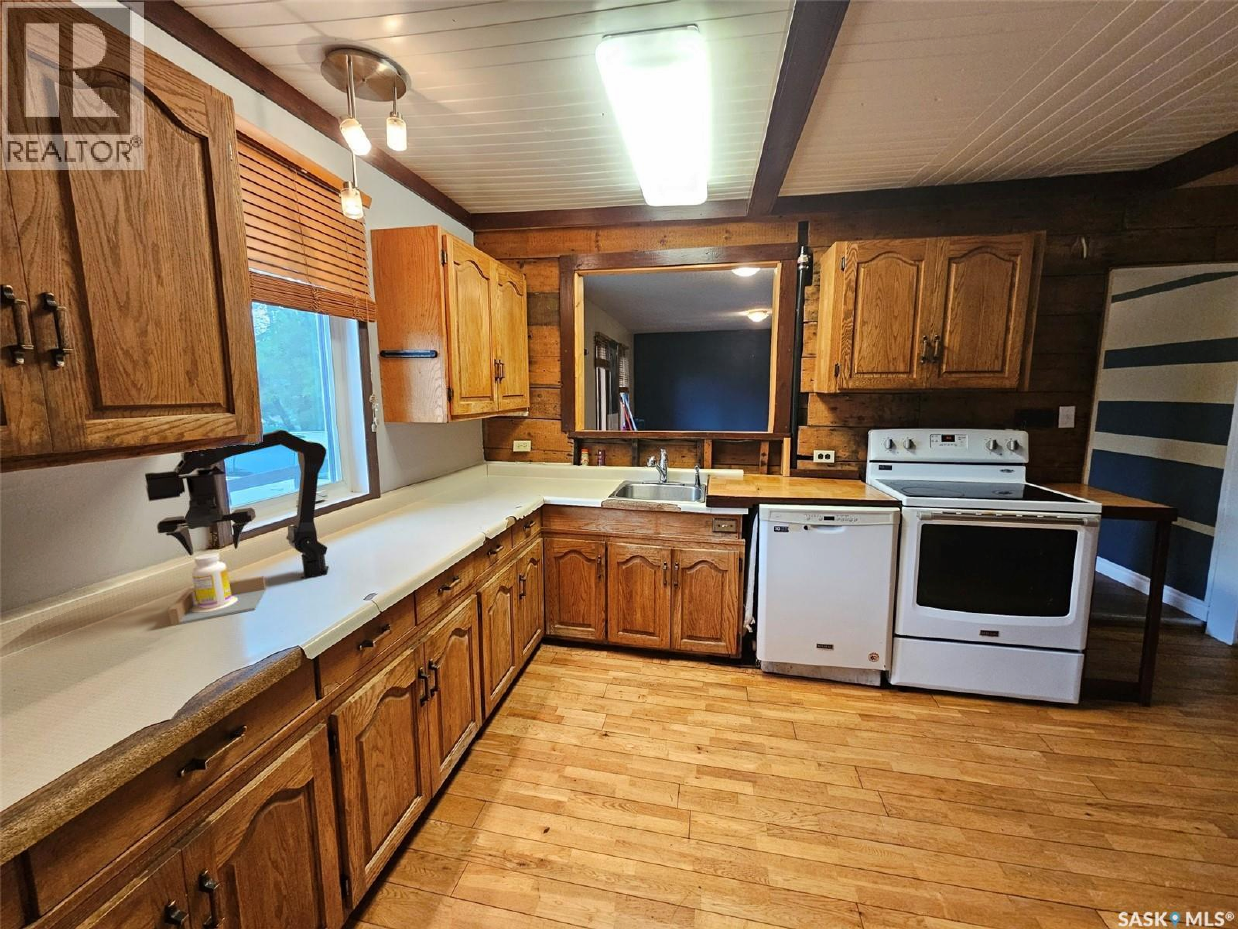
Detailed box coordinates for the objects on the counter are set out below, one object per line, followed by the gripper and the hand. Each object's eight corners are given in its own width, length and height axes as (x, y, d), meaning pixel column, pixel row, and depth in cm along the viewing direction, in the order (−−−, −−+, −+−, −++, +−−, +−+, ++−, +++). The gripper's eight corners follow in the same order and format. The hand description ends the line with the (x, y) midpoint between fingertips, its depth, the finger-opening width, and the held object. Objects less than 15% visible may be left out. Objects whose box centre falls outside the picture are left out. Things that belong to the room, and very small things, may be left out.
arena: (191, 602, 125) (188, 588, 124) (266, 589, 132) (263, 575, 131) (171, 625, 112) (168, 609, 112) (255, 609, 119) (252, 594, 119)
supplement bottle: (225, 596, 126) (217, 549, 124) (237, 601, 123) (228, 553, 121) (193, 606, 120) (184, 557, 118) (204, 612, 117) (195, 562, 115)
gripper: (142, 505, 111) (155, 568, 114) (241, 494, 119) (251, 554, 122) (160, 496, 121) (171, 555, 123) (251, 487, 129) (260, 542, 132)
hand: (214, 551), depth 125 cm, fingers open, 9 cm apart
